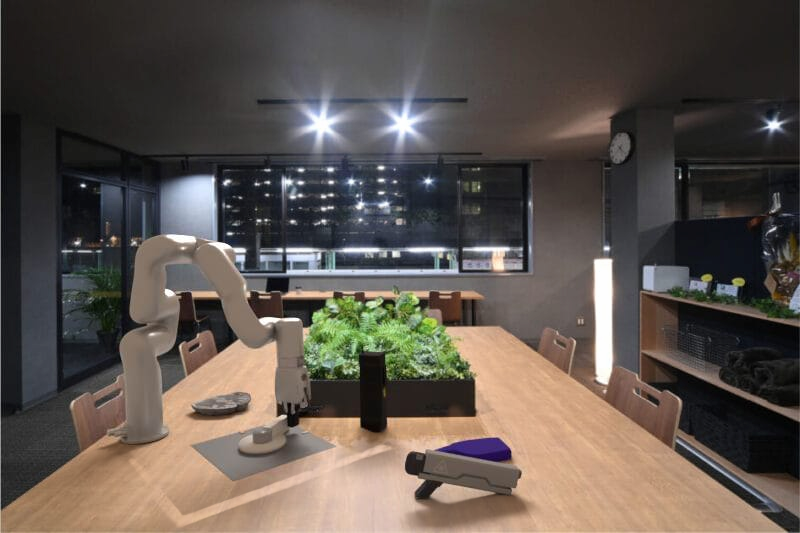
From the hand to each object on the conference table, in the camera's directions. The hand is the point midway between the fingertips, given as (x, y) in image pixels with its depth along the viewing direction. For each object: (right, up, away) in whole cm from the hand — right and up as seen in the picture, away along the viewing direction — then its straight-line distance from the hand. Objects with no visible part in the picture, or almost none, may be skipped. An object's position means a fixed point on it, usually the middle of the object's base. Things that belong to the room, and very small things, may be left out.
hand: (293, 425), depth 139 cm
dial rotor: (-5, -2, -6) cm, 8 cm away
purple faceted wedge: (+46, -4, -15) cm, 48 cm away
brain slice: (-29, -4, +27) cm, 40 cm away
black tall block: (+23, -3, +6) cm, 24 cm away
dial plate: (-6, -4, -9) cm, 12 cm away
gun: (+44, -4, -34) cm, 56 cm away
